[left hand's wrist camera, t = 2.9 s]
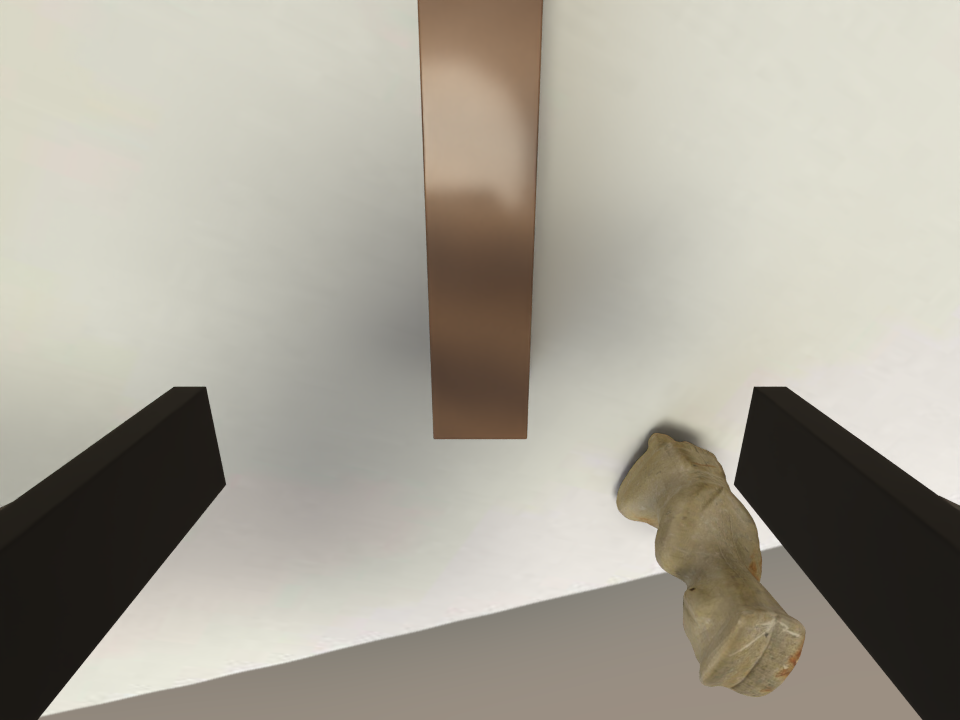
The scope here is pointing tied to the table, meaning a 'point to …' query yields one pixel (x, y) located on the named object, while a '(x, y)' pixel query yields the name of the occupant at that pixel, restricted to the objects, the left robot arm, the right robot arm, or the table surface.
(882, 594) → the left robot arm
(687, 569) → the sculpture
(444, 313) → the post
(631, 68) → the table surface
